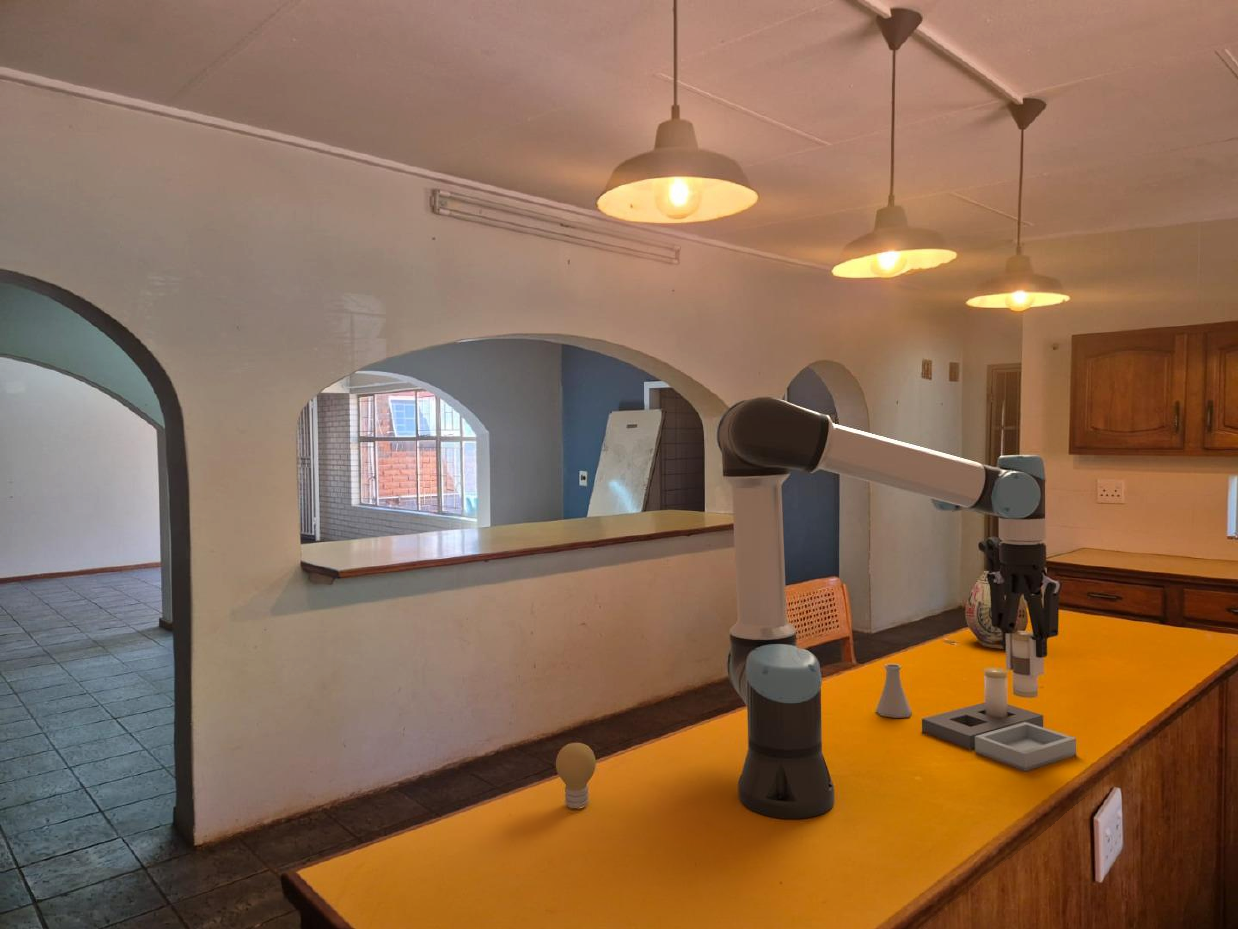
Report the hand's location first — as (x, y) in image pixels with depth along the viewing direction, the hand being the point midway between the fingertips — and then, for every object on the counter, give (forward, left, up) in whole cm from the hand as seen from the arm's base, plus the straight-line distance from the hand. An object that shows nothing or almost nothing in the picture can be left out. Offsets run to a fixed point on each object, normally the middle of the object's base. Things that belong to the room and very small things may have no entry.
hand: (1024, 671), depth 146 cm
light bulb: (-78, +23, -15) cm, 83 cm away
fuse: (+8, +12, -15) cm, 21 cm away
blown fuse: (0, 0, -4) cm, 4 cm away
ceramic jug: (+61, +52, -15) cm, 82 cm away
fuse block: (+4, +12, -15) cm, 20 cm away
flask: (-3, +28, -15) cm, 32 cm away
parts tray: (0, 0, -15) cm, 15 cm away
